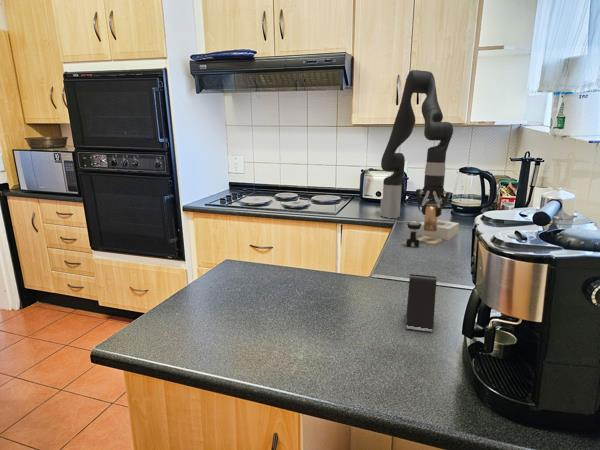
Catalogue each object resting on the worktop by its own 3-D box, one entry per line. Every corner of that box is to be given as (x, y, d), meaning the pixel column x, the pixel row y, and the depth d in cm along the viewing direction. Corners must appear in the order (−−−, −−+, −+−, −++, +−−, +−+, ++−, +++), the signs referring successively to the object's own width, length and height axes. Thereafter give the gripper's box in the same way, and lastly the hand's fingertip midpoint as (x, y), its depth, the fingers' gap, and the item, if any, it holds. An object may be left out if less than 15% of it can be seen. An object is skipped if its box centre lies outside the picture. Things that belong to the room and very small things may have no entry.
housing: (417, 234, 170) (418, 223, 169) (429, 229, 180) (430, 218, 179) (447, 240, 162) (448, 228, 161) (457, 234, 172) (459, 223, 171)
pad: (415, 241, 160) (415, 239, 160) (423, 237, 166) (423, 235, 166) (434, 245, 155) (434, 243, 155) (441, 241, 161) (442, 239, 161)
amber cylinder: (421, 230, 159) (423, 205, 157) (426, 227, 163) (428, 203, 161) (433, 232, 156) (435, 207, 154) (438, 229, 160) (440, 205, 157)
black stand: (402, 247, 153) (404, 222, 150) (401, 243, 158) (403, 219, 155) (419, 248, 151) (422, 223, 149) (418, 244, 156) (420, 220, 154)
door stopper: (406, 312, 99) (410, 268, 96) (431, 315, 97) (435, 270, 94) (405, 329, 90) (409, 281, 88) (432, 333, 89) (437, 284, 86)
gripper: (456, 174, 153) (452, 216, 157) (421, 171, 161) (417, 211, 165) (449, 176, 147) (445, 219, 151) (413, 173, 156) (410, 214, 160)
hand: (431, 215), depth 158 cm, fingers closed on amber cylinder, 5 cm apart
